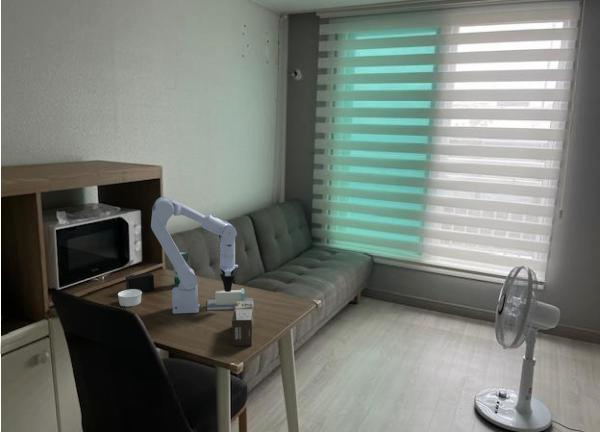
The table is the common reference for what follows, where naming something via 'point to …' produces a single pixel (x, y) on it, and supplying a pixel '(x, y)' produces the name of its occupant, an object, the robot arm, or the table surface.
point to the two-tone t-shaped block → (229, 297)
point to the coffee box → (242, 323)
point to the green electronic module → (176, 279)
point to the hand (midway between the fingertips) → (227, 288)
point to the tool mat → (212, 305)
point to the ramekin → (129, 297)
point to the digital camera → (140, 282)
